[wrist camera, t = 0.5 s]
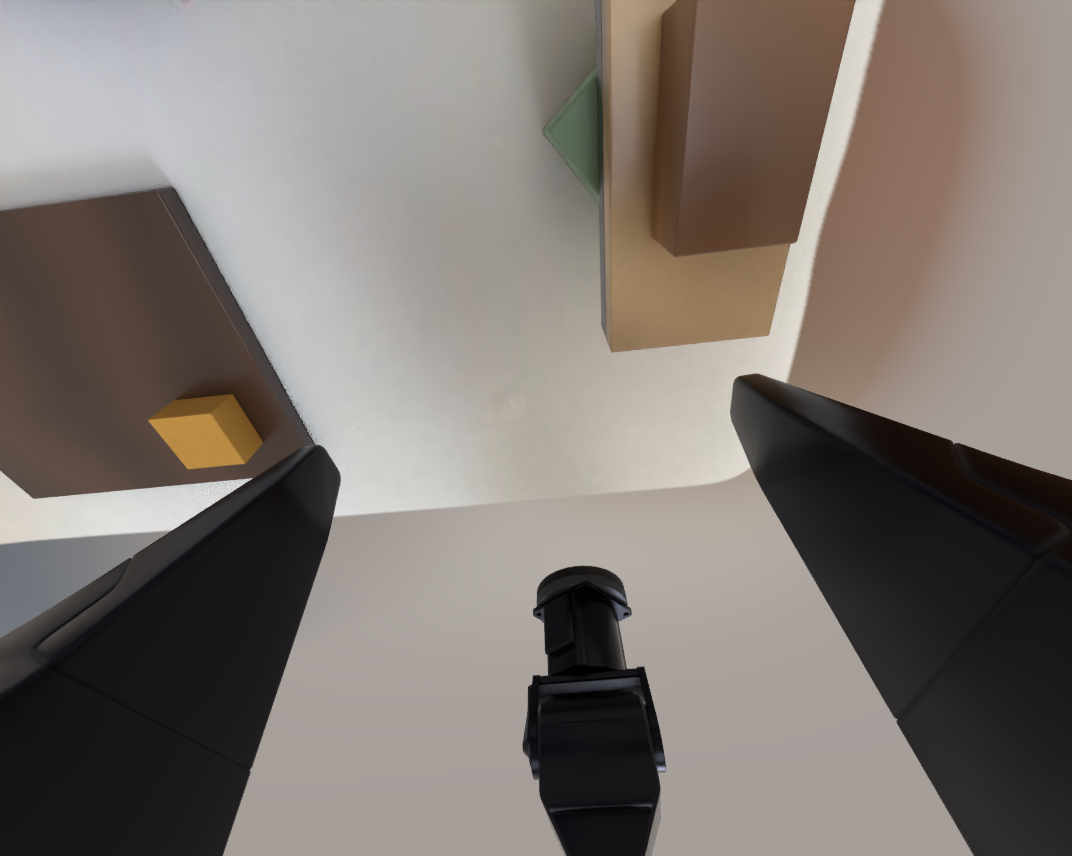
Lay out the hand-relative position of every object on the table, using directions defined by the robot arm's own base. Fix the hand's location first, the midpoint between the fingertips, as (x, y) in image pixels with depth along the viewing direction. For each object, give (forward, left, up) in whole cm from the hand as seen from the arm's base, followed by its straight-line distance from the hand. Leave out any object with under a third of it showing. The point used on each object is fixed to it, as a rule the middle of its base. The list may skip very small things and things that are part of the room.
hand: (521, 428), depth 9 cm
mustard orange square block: (+7, +19, -13) cm, 24 cm away
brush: (+1, -7, -6) cm, 9 cm away
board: (+13, +22, -14) cm, 29 cm away
